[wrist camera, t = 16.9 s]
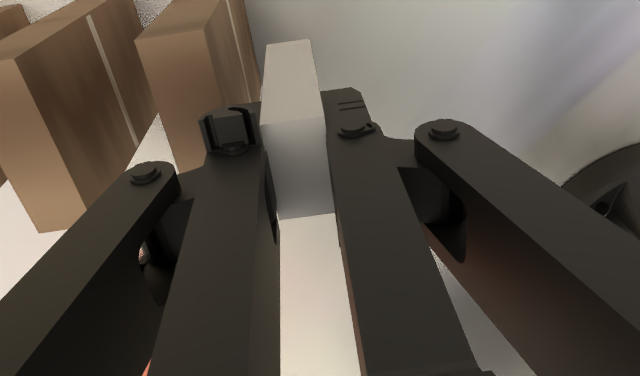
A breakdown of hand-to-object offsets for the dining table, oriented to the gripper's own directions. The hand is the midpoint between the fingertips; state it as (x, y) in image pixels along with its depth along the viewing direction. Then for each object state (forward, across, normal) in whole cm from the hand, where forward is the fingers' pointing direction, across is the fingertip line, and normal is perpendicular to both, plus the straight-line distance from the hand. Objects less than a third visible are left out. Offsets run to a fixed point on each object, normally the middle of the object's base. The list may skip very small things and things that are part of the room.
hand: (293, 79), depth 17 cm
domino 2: (+10, -3, 0) cm, 10 cm away
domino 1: (+10, -9, 0) cm, 13 cm away
